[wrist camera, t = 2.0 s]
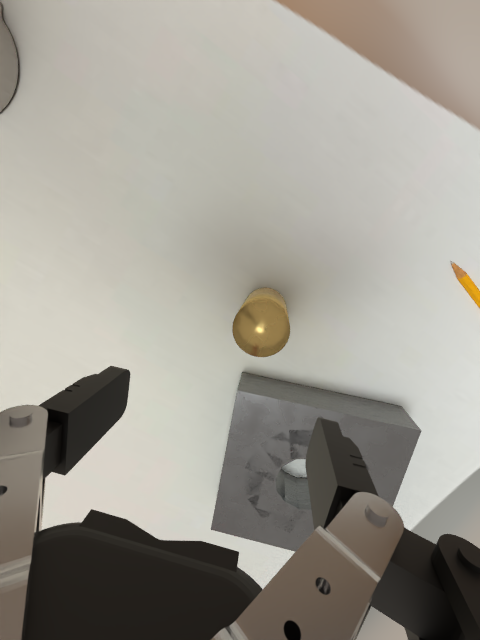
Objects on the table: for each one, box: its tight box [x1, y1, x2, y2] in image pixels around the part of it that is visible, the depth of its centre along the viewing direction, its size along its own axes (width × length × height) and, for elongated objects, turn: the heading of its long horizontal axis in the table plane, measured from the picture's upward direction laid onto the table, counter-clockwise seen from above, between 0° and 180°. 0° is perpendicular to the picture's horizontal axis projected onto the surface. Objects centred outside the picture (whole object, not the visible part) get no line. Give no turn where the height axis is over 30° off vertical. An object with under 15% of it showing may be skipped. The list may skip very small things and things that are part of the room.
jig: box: [211, 372, 421, 551], centre depth 29 cm, size 16×16×4 cm
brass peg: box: [233, 288, 290, 357], centre depth 24 cm, size 4×4×8 cm
